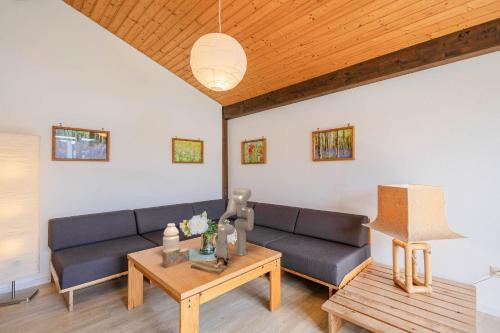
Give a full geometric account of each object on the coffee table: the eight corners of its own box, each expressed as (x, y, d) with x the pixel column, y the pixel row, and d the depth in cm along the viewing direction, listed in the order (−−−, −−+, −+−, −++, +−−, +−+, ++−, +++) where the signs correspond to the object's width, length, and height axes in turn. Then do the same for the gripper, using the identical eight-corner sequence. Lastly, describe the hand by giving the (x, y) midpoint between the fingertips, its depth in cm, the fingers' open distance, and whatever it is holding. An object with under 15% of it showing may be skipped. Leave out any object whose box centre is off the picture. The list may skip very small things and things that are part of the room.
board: (199, 262, 194) (199, 260, 194) (226, 268, 184) (226, 266, 184) (190, 267, 184) (190, 265, 184) (219, 274, 174) (219, 271, 174)
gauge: (220, 264, 191) (220, 257, 191) (226, 265, 189) (226, 258, 189) (212, 270, 180) (212, 262, 180) (218, 272, 178) (218, 264, 178)
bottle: (159, 257, 205) (159, 225, 205) (168, 251, 218) (169, 221, 218) (173, 259, 201) (173, 226, 201) (182, 253, 215) (182, 222, 214)
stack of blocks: (185, 258, 203) (185, 244, 203) (189, 260, 199) (189, 245, 199) (162, 266, 187) (162, 250, 187) (166, 268, 183) (166, 252, 183)
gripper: (234, 242, 188) (233, 265, 188) (215, 239, 195) (215, 261, 195) (229, 245, 181) (229, 268, 181) (210, 242, 188) (210, 264, 188)
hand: (222, 264), depth 188 cm, fingers open, 6 cm apart
